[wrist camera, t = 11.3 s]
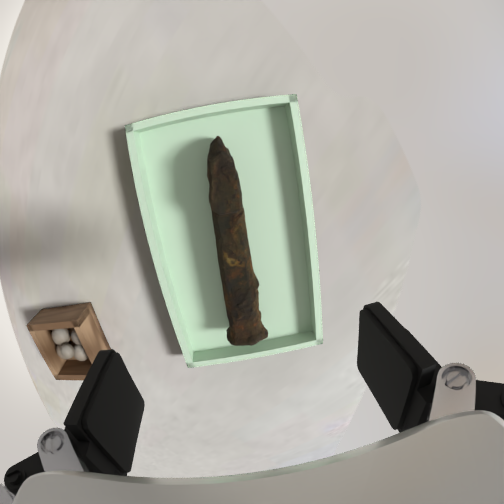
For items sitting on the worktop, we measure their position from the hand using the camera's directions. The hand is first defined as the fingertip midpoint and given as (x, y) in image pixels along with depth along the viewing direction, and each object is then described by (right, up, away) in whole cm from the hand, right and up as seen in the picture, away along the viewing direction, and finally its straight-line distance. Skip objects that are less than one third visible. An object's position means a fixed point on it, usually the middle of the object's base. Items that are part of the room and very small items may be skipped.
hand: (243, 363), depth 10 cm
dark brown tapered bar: (-2, +5, +17) cm, 18 cm away
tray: (-1, +5, +17) cm, 18 cm away
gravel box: (-21, -6, +19) cm, 29 cm away
